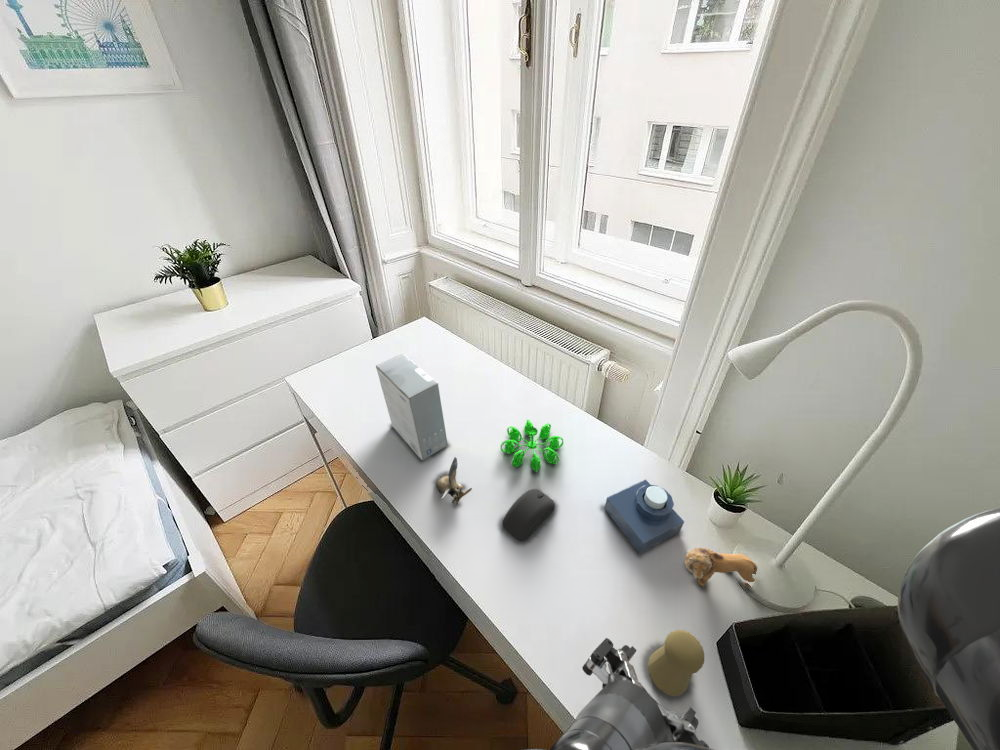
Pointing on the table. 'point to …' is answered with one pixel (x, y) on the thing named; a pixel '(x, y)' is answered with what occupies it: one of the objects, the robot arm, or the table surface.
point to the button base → (643, 517)
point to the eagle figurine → (450, 484)
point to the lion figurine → (718, 565)
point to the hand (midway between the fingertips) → (658, 682)
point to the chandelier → (532, 445)
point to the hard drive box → (413, 405)
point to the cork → (676, 662)
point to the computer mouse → (528, 514)
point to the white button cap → (655, 497)
